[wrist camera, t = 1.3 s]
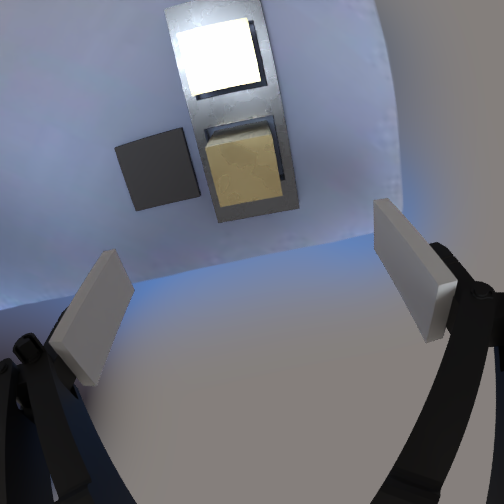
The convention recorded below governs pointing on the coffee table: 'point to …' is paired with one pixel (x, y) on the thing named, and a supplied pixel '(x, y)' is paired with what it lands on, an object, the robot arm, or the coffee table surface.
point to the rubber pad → (158, 169)
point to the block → (219, 56)
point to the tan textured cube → (243, 164)
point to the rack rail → (235, 100)
